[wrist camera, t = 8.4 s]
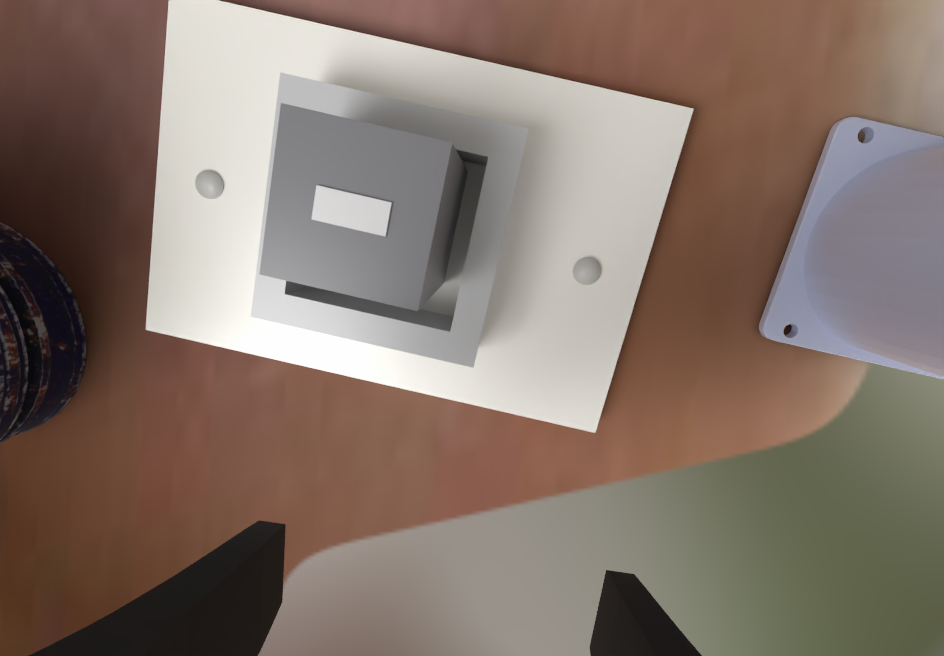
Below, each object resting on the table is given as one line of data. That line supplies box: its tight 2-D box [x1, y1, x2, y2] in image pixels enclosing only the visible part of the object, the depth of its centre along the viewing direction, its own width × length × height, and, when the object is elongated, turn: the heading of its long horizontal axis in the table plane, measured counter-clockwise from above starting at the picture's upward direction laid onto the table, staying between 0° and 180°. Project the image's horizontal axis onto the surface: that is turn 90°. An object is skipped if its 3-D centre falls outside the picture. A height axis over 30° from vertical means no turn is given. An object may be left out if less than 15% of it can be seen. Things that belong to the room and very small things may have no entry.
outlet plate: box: [146, 0, 694, 433], centre depth 16 cm, size 18×12×4 cm, turn 78°
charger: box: [259, 103, 468, 311], centre depth 14 cm, size 4×4×6 cm
